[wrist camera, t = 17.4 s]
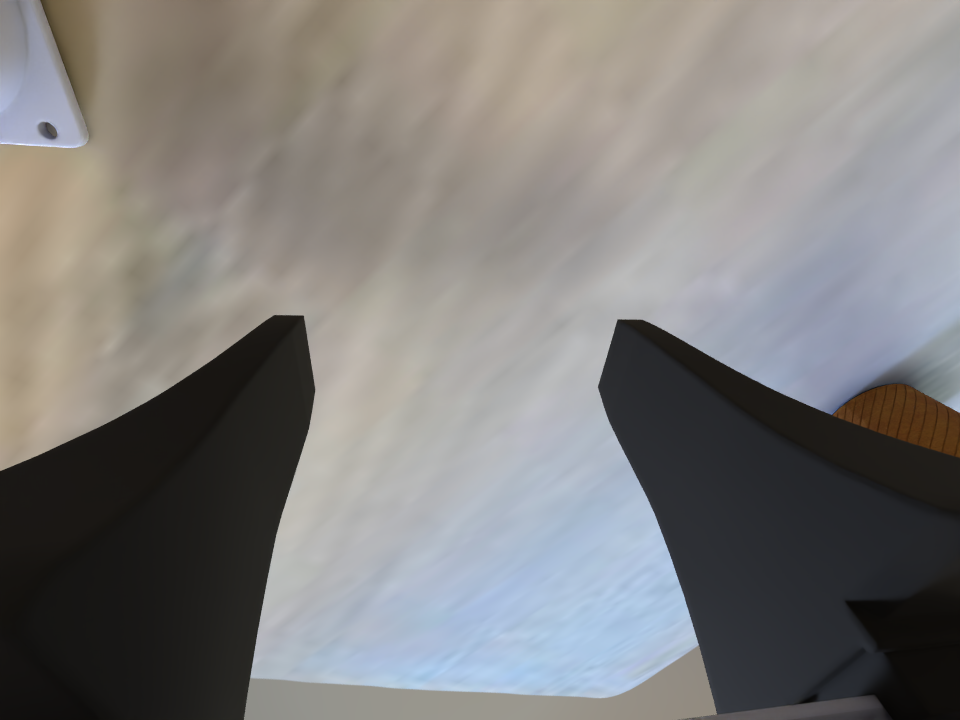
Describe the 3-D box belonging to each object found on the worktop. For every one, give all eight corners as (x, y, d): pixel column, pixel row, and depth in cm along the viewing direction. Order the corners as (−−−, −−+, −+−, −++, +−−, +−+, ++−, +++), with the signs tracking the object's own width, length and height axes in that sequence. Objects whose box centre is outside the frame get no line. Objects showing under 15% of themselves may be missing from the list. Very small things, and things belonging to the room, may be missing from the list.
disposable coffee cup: (778, 416, 28) (970, 615, 19) (942, 333, 26) (1260, 511, 16) (808, 489, 33) (971, 675, 24) (947, 425, 31) (1192, 603, 21)
